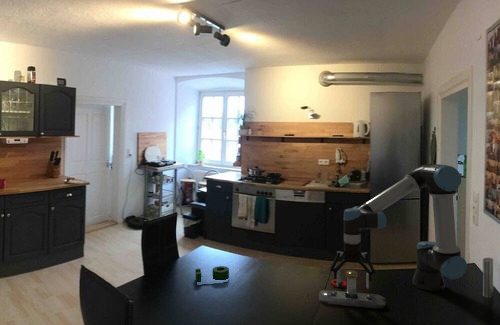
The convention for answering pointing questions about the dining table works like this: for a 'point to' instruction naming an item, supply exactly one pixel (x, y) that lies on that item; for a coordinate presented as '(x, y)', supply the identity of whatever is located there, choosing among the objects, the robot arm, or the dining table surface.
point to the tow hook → (339, 281)
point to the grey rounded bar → (360, 300)
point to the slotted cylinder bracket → (215, 273)
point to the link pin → (351, 284)
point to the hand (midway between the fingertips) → (352, 286)
